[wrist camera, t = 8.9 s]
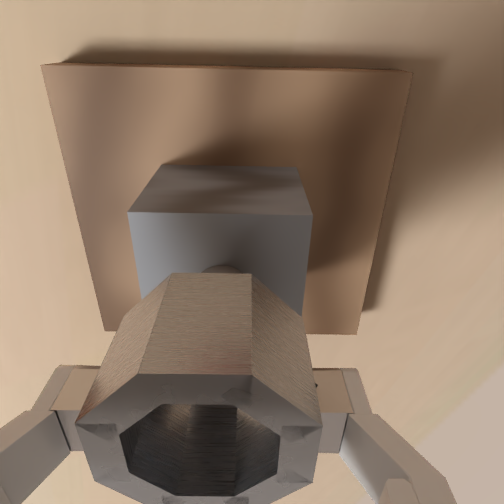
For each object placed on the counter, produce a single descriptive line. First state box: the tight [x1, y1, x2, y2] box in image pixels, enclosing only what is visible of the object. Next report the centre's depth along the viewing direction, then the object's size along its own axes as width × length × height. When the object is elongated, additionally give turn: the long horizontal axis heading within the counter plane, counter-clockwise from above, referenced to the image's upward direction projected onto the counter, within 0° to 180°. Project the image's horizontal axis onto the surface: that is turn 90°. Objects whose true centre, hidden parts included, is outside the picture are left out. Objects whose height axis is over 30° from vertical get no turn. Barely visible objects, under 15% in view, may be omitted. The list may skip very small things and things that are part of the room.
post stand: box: [41, 63, 413, 335], centre depth 17 cm, size 17×16×12 cm
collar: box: [74, 273, 323, 504], centre depth 11 cm, size 6×6×4 cm
